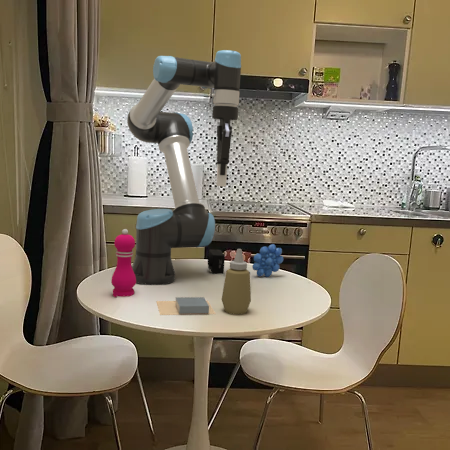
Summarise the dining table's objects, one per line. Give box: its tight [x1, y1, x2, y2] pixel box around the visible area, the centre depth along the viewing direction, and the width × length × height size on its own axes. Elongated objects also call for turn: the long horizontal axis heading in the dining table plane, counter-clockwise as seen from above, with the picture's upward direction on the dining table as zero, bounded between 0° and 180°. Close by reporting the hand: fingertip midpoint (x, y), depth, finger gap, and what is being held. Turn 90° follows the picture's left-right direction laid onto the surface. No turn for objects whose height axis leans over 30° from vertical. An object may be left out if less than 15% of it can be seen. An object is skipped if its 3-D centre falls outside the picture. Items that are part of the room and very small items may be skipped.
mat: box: [155, 300, 216, 316], centre depth 142 cm, size 12×15×1 cm
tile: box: [175, 296, 209, 315], centre depth 141 cm, size 2×8×8 cm
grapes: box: [252, 243, 284, 278], centre depth 184 cm, size 12×7×12 cm, turn 108°
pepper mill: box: [110, 228, 137, 298], centre depth 151 cm, size 7×7×20 cm
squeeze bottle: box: [221, 248, 252, 315], centre depth 141 cm, size 8×8×18 cm
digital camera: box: [207, 249, 226, 275], centre depth 189 cm, size 10×5×7 cm, turn 10°
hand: (221, 185), depth 155 cm, fingers closed
